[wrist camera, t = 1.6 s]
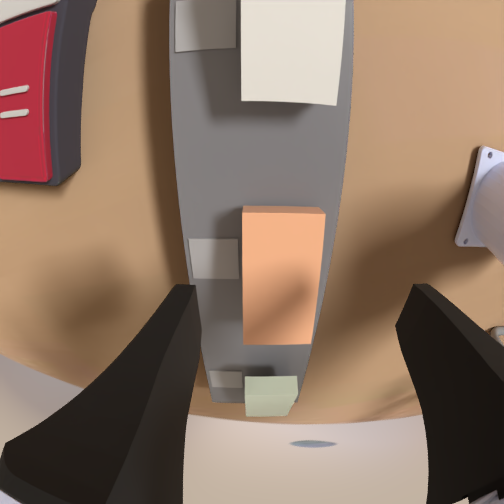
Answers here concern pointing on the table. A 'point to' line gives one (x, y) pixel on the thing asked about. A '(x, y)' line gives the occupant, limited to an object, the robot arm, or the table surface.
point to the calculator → (41, 88)
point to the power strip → (245, 179)
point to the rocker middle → (280, 273)
